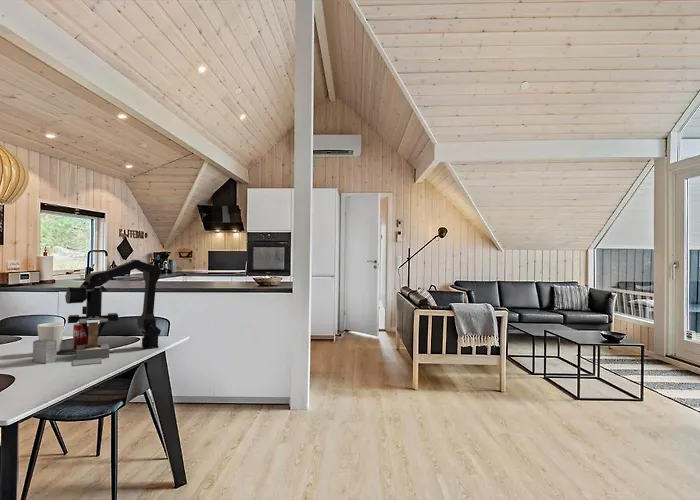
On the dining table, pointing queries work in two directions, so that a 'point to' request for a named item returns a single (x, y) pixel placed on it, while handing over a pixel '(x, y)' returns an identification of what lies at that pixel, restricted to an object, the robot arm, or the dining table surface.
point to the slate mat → (87, 362)
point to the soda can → (79, 336)
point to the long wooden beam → (93, 334)
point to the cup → (51, 333)
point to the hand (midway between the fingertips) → (93, 337)
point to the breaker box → (92, 352)
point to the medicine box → (44, 351)
